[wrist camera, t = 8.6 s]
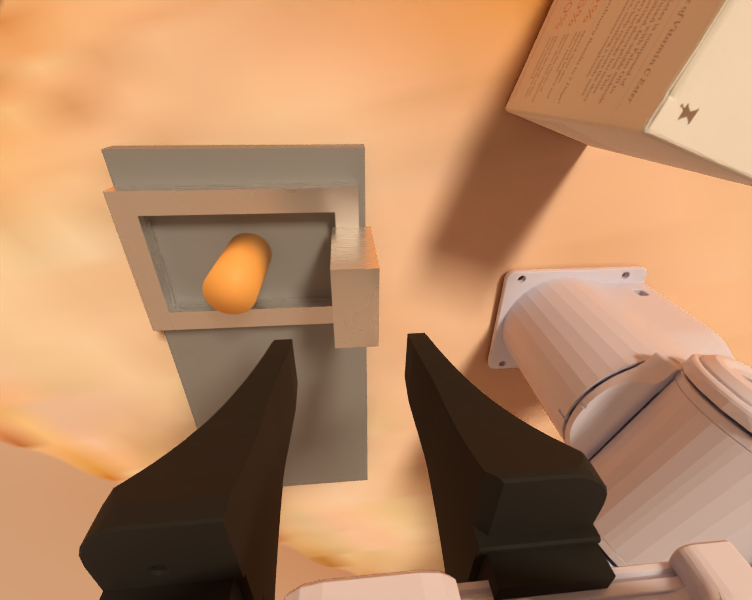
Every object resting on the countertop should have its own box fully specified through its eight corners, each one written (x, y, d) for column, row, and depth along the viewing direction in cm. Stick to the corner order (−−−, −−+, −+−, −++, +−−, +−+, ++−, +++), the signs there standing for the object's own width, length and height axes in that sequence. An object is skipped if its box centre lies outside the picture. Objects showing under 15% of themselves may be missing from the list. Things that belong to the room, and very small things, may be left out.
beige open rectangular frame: (368, 181, 20) (379, 220, 14) (369, 311, 24) (378, 378, 18) (115, 185, 19) (27, 228, 13) (161, 319, 23) (107, 393, 17)
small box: (587, 146, 21) (778, 201, 12) (499, 110, 19) (639, 139, 10) (690, -33, 17) (1085, -154, 8) (591, -93, 16) (931, -319, 7)
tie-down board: (363, 144, 20) (364, 147, 19) (366, 469, 33) (367, 479, 33) (111, 146, 19) (101, 149, 18) (222, 480, 32) (219, 490, 32)
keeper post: (268, 231, 21) (252, 268, 17) (274, 271, 22) (260, 313, 18) (223, 233, 20) (196, 269, 17) (231, 272, 22) (208, 315, 18)
